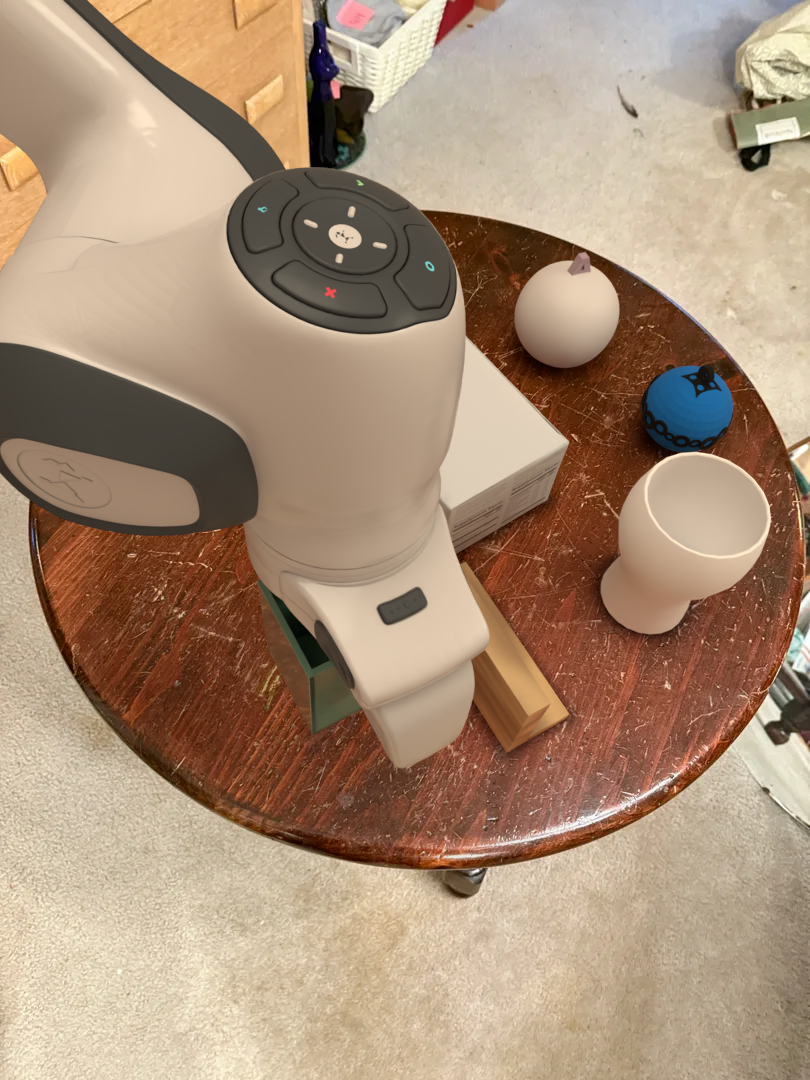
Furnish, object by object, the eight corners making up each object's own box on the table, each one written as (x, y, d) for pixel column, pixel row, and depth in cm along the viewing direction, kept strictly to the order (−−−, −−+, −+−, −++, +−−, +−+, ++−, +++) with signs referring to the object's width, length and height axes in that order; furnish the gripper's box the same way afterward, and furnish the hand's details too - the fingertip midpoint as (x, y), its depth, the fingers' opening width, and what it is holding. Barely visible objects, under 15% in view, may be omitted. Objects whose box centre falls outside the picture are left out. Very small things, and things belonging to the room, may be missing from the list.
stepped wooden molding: (506, 753, 65) (528, 716, 57) (406, 594, 72) (414, 542, 64) (567, 718, 67) (596, 677, 59) (464, 566, 73) (478, 512, 66)
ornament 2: (729, 458, 82) (775, 391, 73) (655, 480, 80) (693, 414, 71) (686, 395, 86) (724, 325, 77) (614, 414, 84) (645, 344, 75)
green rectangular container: (356, 727, 56) (231, 749, 46) (313, 647, 58) (186, 653, 49) (476, 625, 51) (365, 626, 42) (423, 544, 54) (307, 527, 44)
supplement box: (336, 440, 80) (335, 374, 72) (443, 385, 84) (454, 318, 76) (438, 566, 73) (450, 510, 65) (549, 500, 78) (572, 439, 70)
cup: (631, 524, 77) (690, 423, 64) (724, 598, 73) (806, 507, 61) (560, 592, 73) (607, 498, 60) (655, 674, 69) (727, 593, 56)
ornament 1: (548, 302, 91) (574, 211, 81) (621, 353, 88) (657, 264, 78) (488, 348, 87) (507, 257, 77) (562, 402, 84) (593, 315, 74)
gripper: (189, 385, 41) (220, 527, 53) (384, 735, 33) (370, 811, 45) (301, 345, 43) (308, 491, 55) (513, 666, 35) (466, 757, 47)
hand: (337, 637), depth 50 cm, fingers closed on green rectangular container, 6 cm apart
